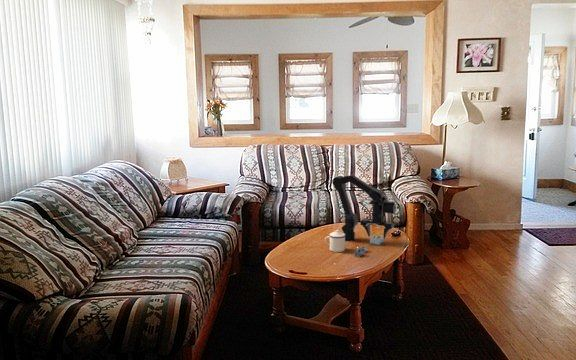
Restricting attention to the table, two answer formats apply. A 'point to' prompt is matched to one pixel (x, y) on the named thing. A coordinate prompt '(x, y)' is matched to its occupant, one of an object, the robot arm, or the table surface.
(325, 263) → the table surface
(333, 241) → the teacup with lid
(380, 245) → the grey peg holder
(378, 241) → the end link
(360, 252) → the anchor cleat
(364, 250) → the link
